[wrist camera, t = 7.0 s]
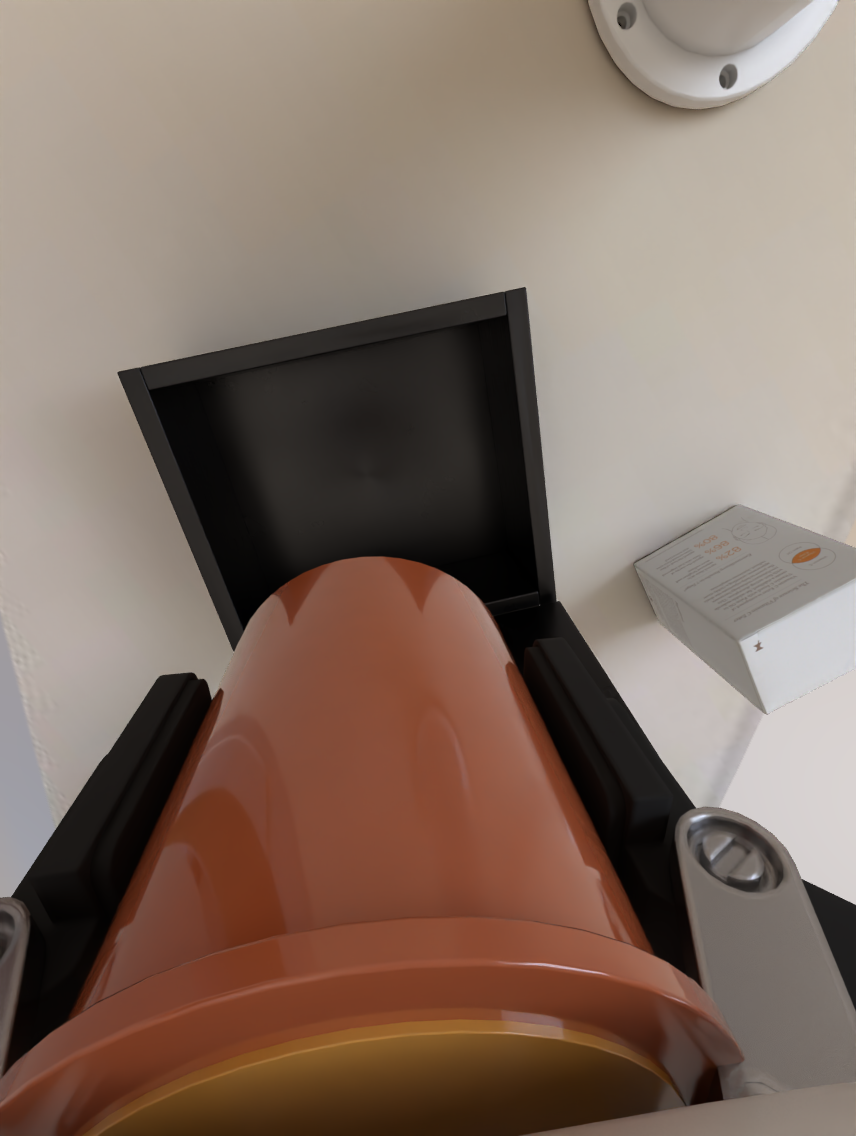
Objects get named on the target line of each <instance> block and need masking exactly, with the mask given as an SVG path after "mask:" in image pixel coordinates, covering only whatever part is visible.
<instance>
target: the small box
mask: <svg viewBox="0 0 856 1136" xmlns="http://www.w3.org/2000/svg"><path fill="white" fill-rule="evenodd" d="M634 566H635V569H636V571H637V573H638V575H639V578H640V580H641V582H642V584H643V587H644V589H645V591H646V594H647V596H648V598H649V600H650V603H651V605H652V607H653V609H654V612H655V614H656V616H657V618H658V621H659V623H660V624H661V625H662V626H664V627H665V628H666V629H667V630H668V631H669V632H671V633H672V634H673V635H674V636H675V637H676V638H677V639H678V640H680V641H681V642H682V643H683V644H684V645H685V646H687V647H688V648H689V649H690V650H691V651H692V652H693V653H695V654H696V655H697V656H698V657H699V658H700V659H701V660H703V661H704V662H705V663H706V664H707V665H708V666H710V667H711V668H712V669H713V670H714V671H715V672H717V673H718V674H719V675H720V676H721V677H722V678H724V679H725V680H726V681H727V682H728V683H729V684H730V685H731V686H733V687H734V688H735V689H736V690H737V691H738V692H740V693H741V694H742V695H743V696H744V697H745V698H747V699H748V700H749V701H750V702H751V703H752V704H753V705H755V706H756V707H757V708H758V709H759V710H761V711H762V712H763V713H765V714H767V715H768V714H769V713H771V712H773V711H775V710H777V709H779V708H781V707H782V706H784V705H786V704H788V703H790V702H792V701H794V700H796V699H798V698H800V697H802V696H804V695H806V694H808V693H810V692H812V691H813V690H815V689H817V688H819V687H821V686H823V685H825V684H827V683H829V682H831V681H833V680H834V679H837V678H838V677H840V676H842V675H844V674H846V673H848V672H850V671H852V670H854V669H856V548H855V547H852V546H850V545H847V544H844V543H842V542H839V541H836V540H834V539H831V538H828V537H826V536H823V535H820V534H818V533H815V532H812V531H810V530H807V529H805V528H802V527H799V526H796V525H794V524H791V523H788V522H786V521H783V520H780V519H777V518H775V517H772V516H769V515H767V514H764V513H761V512H759V511H756V510H753V509H751V508H748V507H745V506H743V505H736V506H735V507H733V508H731V509H730V510H728V511H726V512H724V513H723V514H721V515H719V516H717V517H716V518H714V519H712V520H710V521H709V522H707V523H705V524H703V525H701V526H700V527H698V528H696V529H694V530H693V531H691V532H689V533H687V534H686V535H684V536H682V537H680V538H678V539H677V540H675V541H673V542H671V543H670V544H668V545H666V546H664V547H663V548H661V549H659V550H657V551H656V552H654V553H652V554H650V555H649V556H647V557H645V558H643V559H641V560H640V561H638V562H636V563H635V564H634Z"/></svg>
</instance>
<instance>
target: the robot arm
mask: <svg viewBox="0 0 856 1136" xmlns="http://www.w3.org/2000/svg"><path fill="white" fill-rule="evenodd" d="M838 2H839V0H588V4H589V7H590V10H591V13H592V16H593V18H594V21H595V24H596V27H597V30H598V33H599V36H600V37H601V39H602V41H603V43H604V45H605V46H606V48H607V50H608V52H609V54H610V55H611V57H612V59H613V61H614V62H615V64H616V65H617V66H618V67H619V68H620V70H621V71H622V72H623V73H624V74H625V75H626V77H627V78H628V79H629V80H630V81H631V82H632V83H633V84H634V85H635V86H637V87H638V88H639V89H641V90H642V91H643V92H645V93H646V94H648V95H649V96H650V97H652V98H654V99H656V100H659V101H661V102H664V103H666V104H668V105H671V106H673V107H680V108H688V109H697V110H698V109H705V108H712V107H719V106H723V105H726V104H728V103H731V102H733V101H736V100H738V99H741V98H744V97H746V96H747V95H749V94H750V93H752V92H753V91H755V90H757V89H758V88H760V87H761V86H763V85H765V84H766V83H768V82H769V81H770V80H772V79H773V78H774V77H776V76H777V75H778V74H779V73H781V72H782V71H783V70H784V69H786V68H787V67H788V66H790V65H791V64H792V63H793V62H794V61H795V60H796V59H797V58H798V57H799V56H800V54H801V53H802V52H803V51H804V50H805V49H806V48H807V47H808V46H809V45H810V44H811V42H812V41H813V40H814V39H815V38H816V36H817V35H818V33H819V32H820V30H821V29H822V27H823V26H824V25H825V23H826V22H827V20H828V19H829V17H830V16H831V14H832V13H833V11H834V10H835V8H836V6H837V4H838ZM618 22H619V23H620V24H621V26H622V28H621V27H620V26H619V25H618ZM523 678H524V680H525V682H526V685H527V687H528V689H529V691H530V693H531V695H532V697H533V699H534V701H535V703H536V705H537V708H538V710H539V712H540V714H541V716H542V718H543V720H544V722H545V724H546V726H547V728H548V730H549V733H550V735H551V737H552V739H553V741H554V743H555V745H556V747H557V749H558V751H559V753H560V756H561V758H562V760H563V762H564V764H565V766H566V768H567V770H568V772H569V774H570V776H571V779H572V781H573V783H574V785H575V787H576V789H577V791H578V793H579V795H580V797H581V799H582V801H583V804H584V806H585V808H586V810H587V812H588V814H589V816H590V818H591V820H592V822H593V824H594V827H595V829H596V831H597V833H598V835H599V837H600V839H601V841H602V843H603V845H604V847H605V849H606V852H607V854H608V856H609V858H610V860H611V862H612V864H613V866H614V868H615V870H616V872H617V875H618V877H619V879H620V881H621V883H622V885H623V887H624V889H625V891H626V893H627V895H628V897H629V900H630V902H631V904H632V906H633V908H634V910H635V912H636V914H637V916H638V918H639V920H640V923H641V925H642V927H643V929H644V931H645V933H646V935H647V937H648V939H649V941H650V943H651V945H652V948H653V950H654V952H655V954H656V956H657V957H659V958H662V959H664V960H666V961H667V962H668V963H670V964H671V965H673V966H674V967H676V968H677V969H679V970H680V971H682V972H683V973H684V974H686V975H687V976H689V977H690V978H692V979H693V980H694V981H695V982H696V983H697V984H698V985H699V986H700V987H701V988H702V989H703V990H704V991H705V992H706V993H707V994H708V995H709V996H710V997H711V999H712V1000H713V1001H714V1002H715V1003H716V1004H717V1005H718V1007H719V1009H720V1011H721V1013H722V1014H723V1016H724V1018H725V1020H726V1021H727V1023H728V1025H729V1027H730V1029H731V1031H732V1033H733V1034H734V1036H735V1038H736V1040H737V1042H738V1044H739V1046H740V1048H741V1049H742V1051H743V1053H744V1055H745V1060H744V1061H743V1062H738V1063H733V1064H727V1065H721V1066H717V1069H716V1071H715V1074H714V1077H713V1080H712V1082H711V1085H710V1088H709V1089H710V1092H709V1095H708V1097H707V1100H706V1103H704V1104H698V1105H692V1106H686V1107H681V1108H675V1109H669V1110H663V1111H658V1112H652V1113H646V1114H641V1115H635V1116H629V1117H623V1118H618V1119H612V1120H606V1121H601V1122H595V1123H589V1124H583V1125H578V1126H572V1127H566V1128H561V1129H555V1130H549V1131H543V1132H538V1133H532V1134H526V1135H520V1136H856V905H855V904H853V903H851V902H848V901H846V900H844V899H842V898H840V897H838V896H836V895H834V894H832V893H830V892H828V891H826V890H824V889H821V888H819V887H817V886H815V885H813V884H811V883H809V882H807V881H805V880H803V879H801V877H800V874H799V872H798V869H797V867H796V864H795V863H794V861H793V859H792V857H791V856H790V854H789V852H788V851H787V849H786V848H785V847H784V845H783V844H782V843H781V842H780V841H779V840H778V839H777V838H776V837H775V836H774V835H773V834H772V833H771V832H769V831H768V830H767V829H765V828H764V827H762V826H761V825H760V824H758V823H757V822H755V821H753V820H751V819H749V818H747V817H745V816H743V815H741V814H739V813H736V812H733V811H729V810H726V809H722V808H714V807H701V808H697V809H696V807H695V806H694V805H693V803H692V802H691V800H690V799H689V798H688V796H687V795H686V794H685V792H684V791H683V789H682V788H681V787H680V785H679V784H678V782H677V781H676V780H675V778H674V777H673V776H672V774H671V773H670V771H669V770H668V769H667V767H666V766H665V764H664V763H663V762H662V760H661V759H660V758H659V756H658V755H657V753H656V752H655V751H654V749H653V748H652V746H651V745H650V744H649V742H648V741H647V740H646V738H645V737H644V735H643V734H642V733H641V731H640V730H639V729H638V727H637V726H636V724H635V723H634V722H633V720H632V719H631V717H630V716H629V715H628V713H627V712H626V711H625V709H624V708H623V706H622V705H621V704H620V703H619V702H618V701H617V700H616V699H613V698H607V699H606V698H605V696H604V695H603V693H602V692H601V690H600V689H599V688H598V686H597V685H596V683H595V682H594V680H593V679H592V677H591V676H590V675H589V673H588V672H587V670H586V669H585V667H584V666H583V664H582V663H581V662H580V660H579V659H578V657H577V656H576V654H575V653H574V651H573V650H572V649H571V647H570V646H569V644H568V643H567V641H566V640H565V639H564V638H562V637H559V638H548V639H537V640H535V641H534V643H533V647H529V648H526V649H525V652H524V672H523ZM211 702H212V699H211V695H210V691H209V687H208V684H207V682H206V680H204V679H197V676H196V675H195V674H194V673H192V672H191V673H181V674H170V675H162V676H160V677H159V678H158V679H157V680H156V682H155V683H154V685H153V686H152V688H151V689H150V691H149V692H148V694H147V695H146V697H145V698H144V700H143V701H142V703H141V705H140V706H139V708H138V709H137V711H136V712H135V714H134V715H133V717H132V718H131V720H130V721H129V723H128V724H127V726H126V727H125V729H124V731H123V732H122V734H121V735H120V737H119V738H118V740H117V741H116V743H115V744H114V746H113V747H112V749H111V750H110V752H109V753H108V754H107V755H106V756H105V757H104V758H103V759H102V761H101V762H100V763H99V765H98V766H97V768H96V769H95V771H94V772H93V774H92V775H91V777H90V778H89V780H88V781H87V783H86V784H85V786H84V787H83V789H82V790H81V792H80V793H79V795H78V797H77V798H76V800H75V801H74V803H73V804H72V806H71V807H70V809H69V810H68V812H67V813H66V815H65V816H64V818H63V819H62V821H61V822H60V824H59V825H58V827H57V828H56V830H55V831H54V833H53V835H52V836H51V837H50V839H49V840H48V842H47V844H46V845H45V846H44V848H43V850H42V851H41V853H40V854H39V856H38V857H37V859H36V860H35V862H34V863H33V865H32V866H31V868H30V869H29V871H28V872H27V874H26V875H25V877H24V879H23V880H22V881H21V883H20V884H19V886H18V887H17V889H16V890H15V892H14V894H13V895H12V896H11V897H3V898H0V1080H1V1079H2V1078H3V1077H4V1075H5V1074H6V1073H7V1072H8V1071H9V1069H10V1068H11V1067H12V1066H13V1065H14V1064H15V1062H16V1061H17V1060H18V1059H20V1058H21V1057H22V1056H23V1055H24V1054H26V1053H27V1052H28V1051H29V1050H30V1049H31V1048H33V1047H34V1046H35V1045H36V1044H37V1043H38V1042H40V1041H41V1040H42V1039H43V1038H44V1037H46V1036H47V1035H48V1034H49V1033H50V1032H51V1031H53V1030H54V1029H56V1028H57V1027H59V1026H60V1025H62V1024H64V1023H65V1022H66V1021H67V1019H68V1017H69V1014H70V1012H71V1010H72V1008H73V1006H74V1003H75V1001H76V999H77V997H78V995H79V992H80V990H81V988H82V986H83V984H84V981H85V979H86V977H87V975H88V973H89V970H90V968H91V966H92V964H93V962H94V959H95V957H96V955H97V953H98V951H99V948H100V946H101V944H102V942H103V940H104V937H105V935H106V933H107V931H108V929H109V926H110V924H111V922H112V920H113V918H114V915H115V913H116V911H117V909H118V907H119V904H120V902H121V900H122V898H123V896H124V893H125V891H126V889H127V887H128V885H129V882H130V880H131V878H132V876H133V874H134V871H135V869H136V867H137V865H138V863H139V860H140V858H141V856H142V854H143V852H144V849H145V847H146V845H147V843H148V841H149V838H150V836H151V834H152V832H153V830H154V827H155V825H156V823H157V821H158V819H159V816H160V814H161V812H162V810H163V808H164V805H165V803H166V801H167V799H168V797H169V794H170V792H171V790H172V788H173V786H174V783H175V781H176V779H177V777H178V775H179V772H180V770H181V768H182V766H183V764H184V761H185V759H186V757H187V755H188V753H189V750H190V748H191V746H192V744H193V742H194V739H195V737H196V735H197V733H198V730H199V728H200V726H201V724H202V722H203V719H204V717H205V715H206V713H207V711H208V708H209V706H210V704H211Z"/></svg>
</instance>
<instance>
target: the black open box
mask: <svg viewBox="0 0 856 1136" xmlns="http://www.w3.org/2000/svg"><path fill="white" fill-rule="evenodd" d="M118 376H119V378H120V381H121V383H122V385H123V388H124V390H125V393H126V395H127V397H128V400H129V402H130V404H131V407H132V409H133V412H134V414H135V416H136V419H137V421H138V424H139V426H140V428H141V431H142V433H143V436H144V438H145V440H146V443H147V445H148V448H149V450H150V452H151V455H152V457H153V460H154V462H155V464H156V467H157V469H158V472H159V474H160V476H161V479H162V481H163V484H164V486H165V488H166V491H167V493H168V496H169V498H170V500H171V503H172V505H173V508H174V510H175V512H176V515H177V517H178V520H179V522H180V524H181V527H182V529H183V532H184V534H185V536H186V539H187V541H188V544H189V546H190V548H191V551H192V553H193V555H194V558H195V560H196V563H197V565H198V567H199V570H200V572H201V575H202V577H203V579H204V582H205V584H206V587H207V589H208V591H209V594H210V596H211V599H212V601H213V603H214V606H215V608H216V611H217V613H218V615H219V618H220V620H221V623H222V625H223V627H224V630H225V632H226V635H227V637H228V639H229V642H230V644H231V647H232V649H233V651H235V649H236V647H237V645H238V642H239V640H240V638H241V636H242V634H243V632H244V630H245V628H246V626H247V624H248V623H249V621H250V619H251V618H252V616H253V615H254V614H255V612H256V611H257V610H258V608H259V607H260V606H261V605H262V604H263V603H264V602H265V601H266V600H267V599H268V598H269V597H270V596H271V595H272V594H273V593H274V592H275V591H276V590H278V589H279V588H280V587H282V586H283V585H284V584H286V583H287V582H288V581H290V580H292V579H294V578H296V577H297V576H299V575H301V574H303V573H304V572H307V571H309V570H312V569H314V568H317V567H319V566H321V565H324V564H328V563H332V562H336V561H339V560H344V559H351V558H358V557H392V558H401V559H406V560H410V561H415V562H419V563H422V564H425V565H428V566H430V567H433V568H436V569H438V570H440V571H442V572H444V573H446V574H448V575H450V576H452V577H454V578H455V579H457V580H458V581H459V582H461V583H462V584H464V585H465V586H466V587H468V588H469V589H470V590H471V591H472V592H473V593H474V594H475V595H476V596H478V597H479V598H480V599H481V601H482V602H483V603H484V604H485V606H486V607H487V608H488V609H489V611H490V612H491V614H492V616H495V615H500V614H504V613H509V612H513V611H518V610H522V609H526V608H531V607H535V606H539V605H544V604H549V603H553V602H556V591H555V581H554V571H553V560H552V550H551V540H550V530H549V519H548V509H547V499H546V488H545V478H544V468H543V458H542V447H541V437H540V427H539V416H538V406H537V396H536V386H535V375H534V365H533V355H532V345H531V334H530V324H529V314H528V303H527V293H526V288H525V287H523V288H518V289H513V290H509V291H505V292H499V293H494V294H490V295H485V296H480V297H475V298H470V299H466V300H461V301H456V302H451V303H446V304H442V305H437V306H432V307H427V308H422V309H418V310H413V311H408V312H403V313H398V314H393V315H389V316H384V317H379V318H374V319H369V320H365V321H360V322H355V323H350V324H345V325H341V326H336V327H331V328H326V329H321V330H317V331H312V332H307V333H302V334H297V335H293V336H288V337H283V338H278V339H273V340H269V341H264V342H259V343H254V344H249V345H245V346H240V347H235V348H230V349H225V350H221V351H216V352H211V353H206V354H201V355H197V356H192V357H187V358H182V359H177V360H173V361H168V362H163V363H158V364H153V365H149V366H144V367H141V368H134V369H129V370H124V371H120V372H118Z"/></svg>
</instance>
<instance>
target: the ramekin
mask: <svg viewBox="0 0 856 1136" xmlns="http://www.w3.org/2000/svg"><path fill="white" fill-rule="evenodd" d="M744 1060H745V1055H744V1053H743V1051H742V1049H741V1048H740V1046H739V1044H738V1042H737V1040H736V1038H735V1036H734V1034H733V1033H732V1031H731V1029H730V1027H729V1025H728V1023H727V1021H726V1020H725V1018H724V1016H723V1014H722V1013H721V1011H720V1009H719V1007H718V1005H717V1004H716V1003H715V1002H714V1001H713V1000H712V999H711V997H710V996H709V995H708V994H707V993H706V992H705V991H704V990H703V989H702V988H701V987H700V986H699V985H698V984H697V983H696V982H695V981H694V980H693V979H692V978H690V977H689V976H687V975H686V974H684V973H683V972H682V971H680V970H679V969H677V968H676V967H674V966H673V965H671V964H670V963H668V962H667V961H666V960H664V959H662V958H659V957H657V956H656V954H655V952H654V950H653V948H652V945H651V943H650V941H649V939H648V937H647V935H646V933H645V931H644V929H643V927H642V925H641V923H640V920H639V918H638V916H637V914H636V912H635V910H634V908H633V906H632V904H631V902H630V900H629V897H628V895H627V893H626V891H625V889H624V887H623V885H622V883H621V881H620V879H619V877H618V875H617V872H616V870H615V868H614V866H613V864H612V862H611V860H610V858H609V856H608V854H607V852H606V849H605V847H604V845H603V843H602V841H601V839H600V837H599V835H598V833H597V831H596V829H595V827H594V824H593V822H592V820H591V818H590V816H589V814H588V812H587V810H586V808H585V806H584V804H583V801H582V799H581V797H580V795H579V793H578V791H577V789H576V787H575V785H574V783H573V781H572V779H571V776H570V774H569V772H568V770H567V768H566V766H565V764H564V762H563V760H562V758H561V756H560V753H559V751H558V749H557V747H556V745H555V743H554V741H553V739H552V737H551V735H550V733H549V730H548V728H547V726H546V724H545V722H544V720H543V718H542V716H541V714H540V712H539V710H538V708H537V705H536V703H535V701H534V699H533V697H532V695H531V693H530V691H529V689H528V687H527V685H526V682H525V680H524V678H523V676H522V674H521V672H520V670H519V668H518V666H517V664H516V662H515V660H514V657H513V655H512V653H511V651H510V649H509V647H508V645H507V643H506V641H505V639H504V637H503V634H502V632H501V630H500V628H499V626H498V624H497V623H496V621H495V619H494V617H493V616H492V614H491V612H490V611H489V609H488V608H487V607H486V606H485V604H484V603H483V602H482V601H481V599H480V598H479V597H478V596H476V595H475V594H474V593H473V592H472V591H471V590H470V589H469V588H468V587H466V586H465V585H464V584H462V583H461V582H459V581H458V580H457V579H455V578H454V577H452V576H450V575H448V574H446V573H444V572H442V571H440V570H438V569H436V568H433V567H430V566H428V565H425V564H422V563H419V562H415V561H410V560H406V559H401V558H392V557H358V558H351V559H344V560H339V561H336V562H332V563H328V564H324V565H321V566H319V567H317V568H314V569H312V570H309V571H307V572H304V573H303V574H301V575H299V576H297V577H296V578H294V579H292V580H290V581H288V582H287V583H286V584H284V585H283V586H282V587H280V588H279V589H278V590H276V591H275V592H274V593H273V594H272V595H271V596H270V597H269V598H268V599H267V600H266V601H265V602H264V603H263V604H262V605H261V606H260V607H259V608H258V610H257V611H256V612H255V614H254V615H253V616H252V618H251V619H250V621H249V623H248V624H247V626H246V628H245V630H244V632H243V634H242V636H241V638H240V640H239V642H238V645H237V647H236V649H235V651H234V653H233V656H232V658H231V660H230V662H229V664H228V667H227V669H226V671H225V673H224V675H223V678H222V680H221V682H220V684H219V686H218V689H217V691H216V693H215V695H214V697H213V700H212V702H211V704H210V706H209V708H208V711H207V713H206V715H205V717H204V719H203V722H202V724H201V726H200V728H199V730H198V733H197V735H196V737H195V739H194V742H193V744H192V746H191V748H190V750H189V753H188V755H187V757H186V759H185V761H184V764H183V766H182V768H181V770H180V772H179V775H178V777H177V779H176V781H175V783H174V786H173V788H172V790H171V792H170V794H169V797H168V799H167V801H166V803H165V805H164V808H163V810H162V812H161V814H160V816H159V819H158V821H157V823H156V825H155V827H154V830H153V832H152V834H151V836H150V838H149V841H148V843H147V845H146V847H145V849H144V852H143V854H142V856H141V858H140V860H139V863H138V865H137V867H136V869H135V871H134V874H133V876H132V878H131V880H130V882H129V885H128V887H127V889H126V891H125V893H124V896H123V898H122V900H121V902H120V904H119V907H118V909H117V911H116V913H115V915H114V918H113V920H112V922H111V924H110V926H109V929H108V931H107V933H106V935H105V937H104V940H103V942H102V944H101V946H100V948H99V951H98V953H97V955H96V957H95V959H94V962H93V964H92V966H91V968H90V970H89V973H88V975H87V977H86V979H85V981H84V984H83V986H82V988H81V990H80V992H79V995H78V997H77V999H76V1001H75V1003H74V1006H73V1008H72V1010H71V1012H70V1014H69V1017H68V1019H67V1021H66V1022H65V1023H64V1024H62V1025H60V1026H59V1027H57V1028H56V1029H54V1030H53V1031H51V1032H50V1033H49V1034H48V1035H47V1036H46V1037H44V1038H43V1039H42V1040H41V1041H40V1042H38V1043H37V1044H36V1045H35V1046H34V1047H33V1048H31V1049H30V1050H29V1051H28V1052H27V1053H26V1054H24V1055H23V1056H22V1057H21V1058H20V1059H18V1060H17V1061H16V1062H15V1064H14V1065H13V1066H12V1067H11V1068H10V1069H9V1071H8V1072H7V1073H6V1074H5V1075H4V1077H3V1078H2V1079H1V1080H0V1136H520V1135H526V1134H532V1133H538V1132H543V1131H549V1130H555V1129H561V1128H566V1127H572V1126H578V1125H583V1124H589V1123H595V1122H601V1121H606V1120H612V1119H618V1118H623V1117H629V1116H635V1115H641V1114H646V1113H652V1112H658V1111H663V1110H669V1109H675V1108H681V1107H686V1106H692V1105H698V1104H704V1103H706V1100H707V1097H708V1095H709V1092H710V1089H709V1088H710V1085H711V1082H712V1080H713V1077H714V1074H715V1071H716V1069H717V1066H721V1065H727V1064H733V1063H738V1062H743V1061H744Z"/></svg>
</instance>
